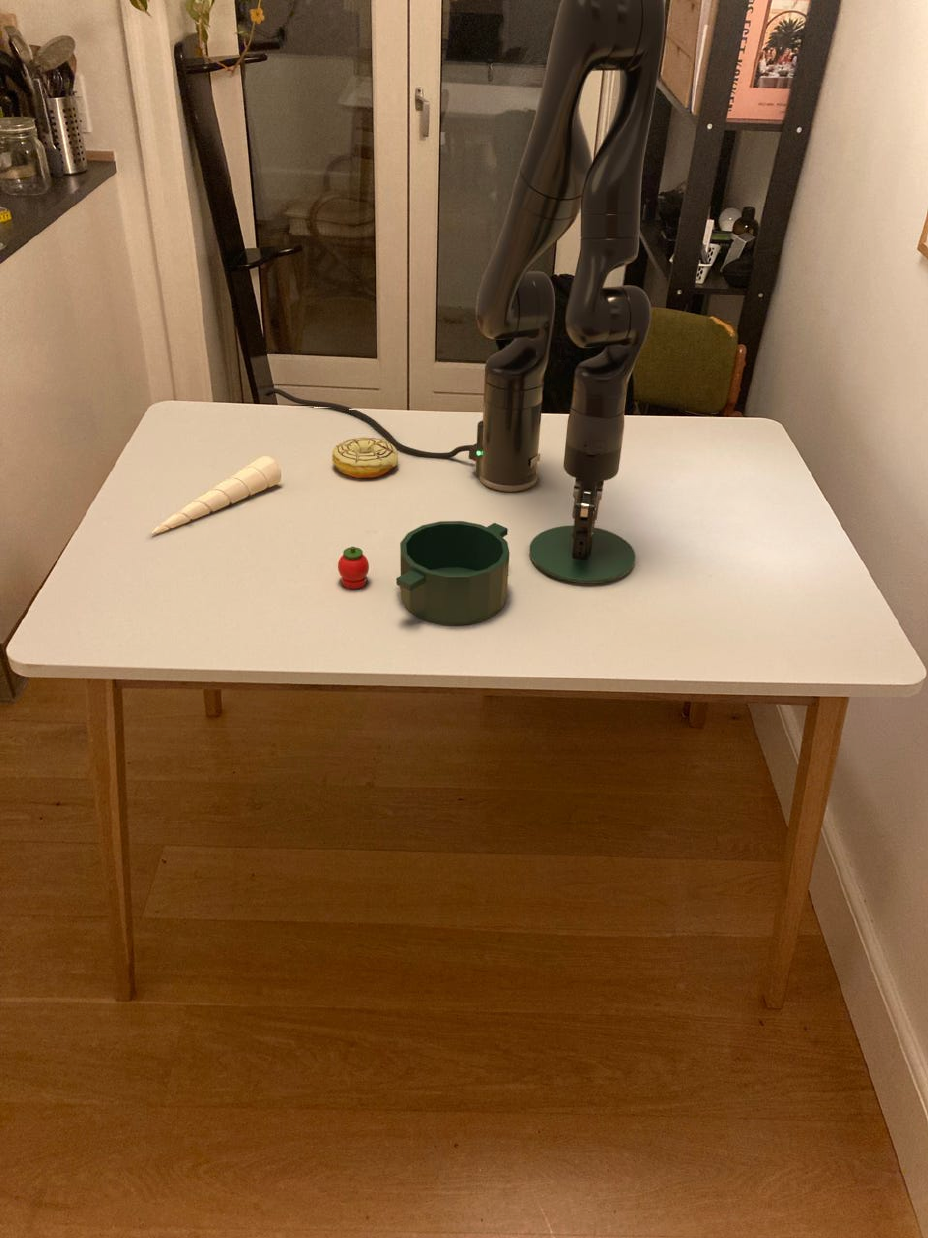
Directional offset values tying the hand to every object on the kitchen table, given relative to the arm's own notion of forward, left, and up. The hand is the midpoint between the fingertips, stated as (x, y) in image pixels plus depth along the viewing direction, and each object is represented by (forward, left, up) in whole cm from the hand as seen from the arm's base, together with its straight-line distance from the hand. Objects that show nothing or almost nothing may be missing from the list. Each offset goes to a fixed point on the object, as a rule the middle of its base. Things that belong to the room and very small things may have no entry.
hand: (581, 546), depth 141 cm
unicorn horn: (-49, -26, -2) cm, 56 cm away
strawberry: (-19, -27, -2) cm, 33 cm away
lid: (0, 0, -1) cm, 1 cm away
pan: (-7, -20, -2) cm, 21 cm away
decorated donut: (-43, -1, -2) cm, 43 cm away
